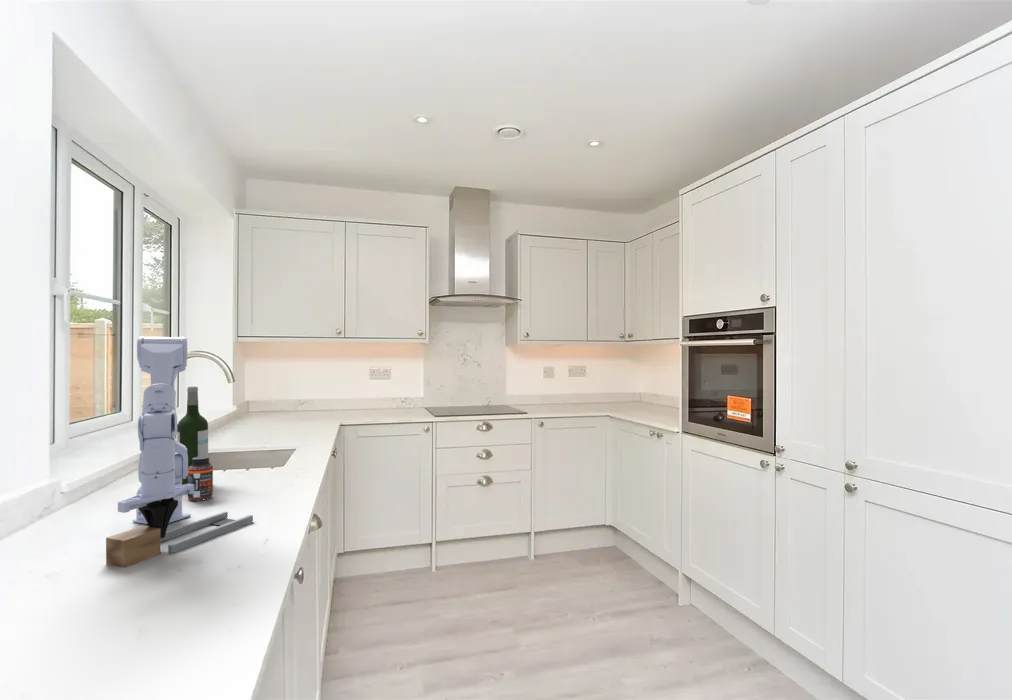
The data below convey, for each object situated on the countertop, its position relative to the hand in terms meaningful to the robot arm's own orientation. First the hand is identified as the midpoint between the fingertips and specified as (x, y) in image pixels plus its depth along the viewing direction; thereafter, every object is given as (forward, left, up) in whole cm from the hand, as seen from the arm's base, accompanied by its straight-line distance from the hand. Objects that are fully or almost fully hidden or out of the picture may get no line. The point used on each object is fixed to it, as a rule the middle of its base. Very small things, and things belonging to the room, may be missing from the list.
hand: (158, 537), depth 105 cm
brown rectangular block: (0, -5, -2) cm, 5 cm away
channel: (0, +9, -2) cm, 10 cm away
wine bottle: (-38, +37, -3) cm, 53 cm away
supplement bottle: (-25, +29, -3) cm, 39 cm away
